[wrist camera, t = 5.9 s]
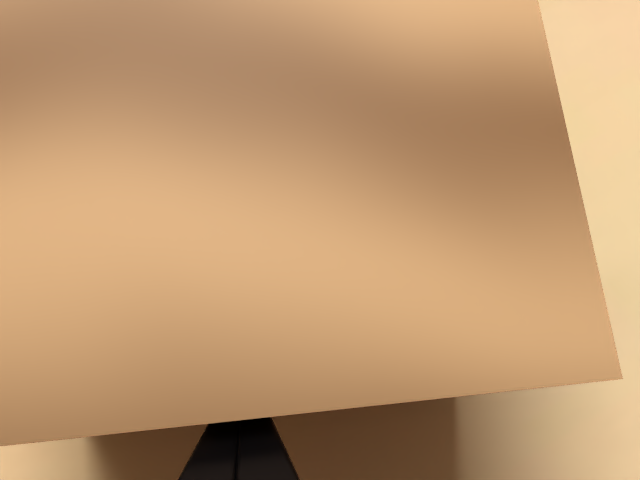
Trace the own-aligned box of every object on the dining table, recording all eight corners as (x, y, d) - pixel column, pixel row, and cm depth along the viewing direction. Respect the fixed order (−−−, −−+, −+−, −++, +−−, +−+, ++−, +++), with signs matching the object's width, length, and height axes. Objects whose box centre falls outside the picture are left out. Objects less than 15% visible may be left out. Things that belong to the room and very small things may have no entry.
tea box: (457, 369, 16) (622, 379, 8) (78, 409, 15) (-176, 465, 7) (410, 68, 18) (499, -169, 10) (80, 90, 17) (-110, -144, 9)
